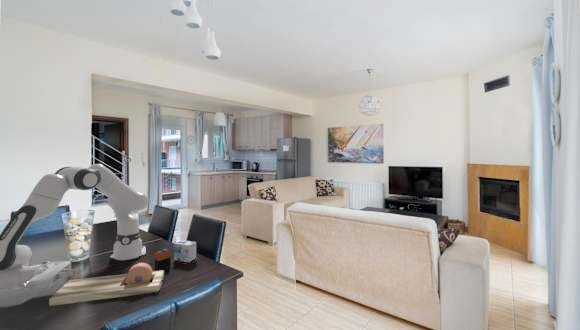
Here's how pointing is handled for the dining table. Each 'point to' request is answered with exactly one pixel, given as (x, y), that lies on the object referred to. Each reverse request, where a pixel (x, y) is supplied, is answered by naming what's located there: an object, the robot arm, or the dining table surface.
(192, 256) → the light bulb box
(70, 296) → the board
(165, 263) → the battery
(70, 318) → the dining table surface
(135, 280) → the roller
